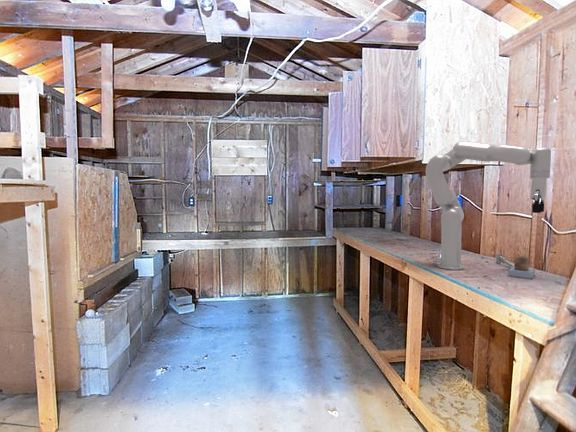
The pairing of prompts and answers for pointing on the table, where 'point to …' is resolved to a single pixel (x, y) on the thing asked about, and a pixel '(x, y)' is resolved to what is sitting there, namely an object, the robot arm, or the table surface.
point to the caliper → (503, 260)
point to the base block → (521, 273)
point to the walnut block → (521, 263)
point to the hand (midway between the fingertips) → (538, 212)
